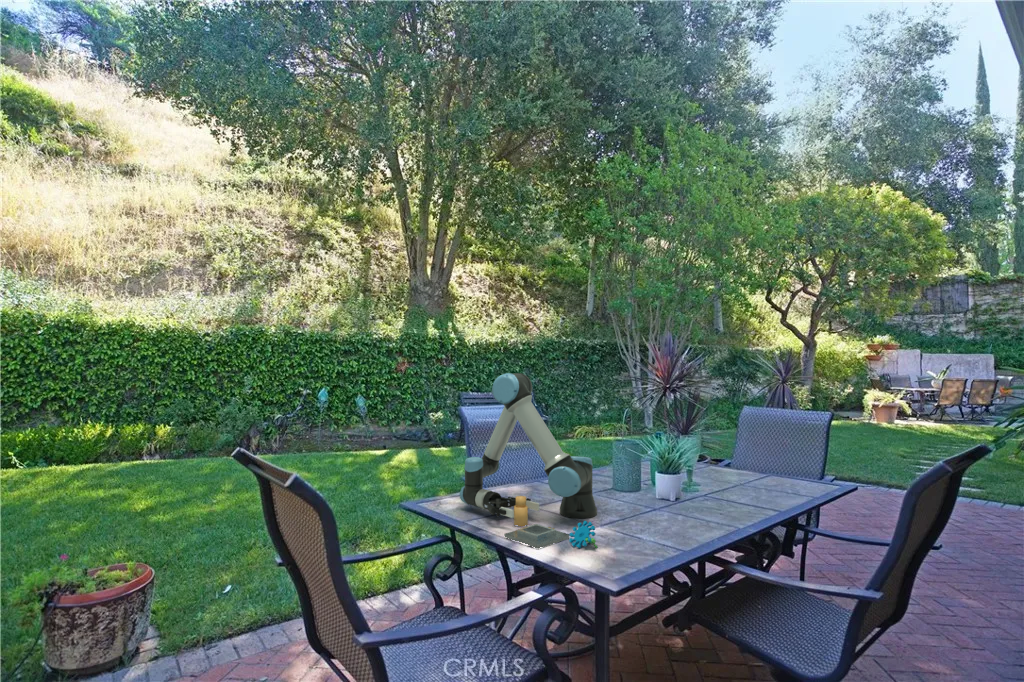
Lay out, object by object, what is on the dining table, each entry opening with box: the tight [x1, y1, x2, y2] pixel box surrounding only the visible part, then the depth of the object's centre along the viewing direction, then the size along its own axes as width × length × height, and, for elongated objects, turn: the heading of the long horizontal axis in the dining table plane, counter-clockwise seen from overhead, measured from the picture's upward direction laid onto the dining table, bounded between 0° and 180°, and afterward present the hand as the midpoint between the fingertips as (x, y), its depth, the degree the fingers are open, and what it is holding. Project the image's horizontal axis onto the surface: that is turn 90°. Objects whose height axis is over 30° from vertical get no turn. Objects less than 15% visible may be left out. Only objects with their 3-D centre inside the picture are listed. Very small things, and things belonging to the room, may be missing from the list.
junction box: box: [503, 523, 570, 549], centre depth 189 cm, size 16×16×3 cm
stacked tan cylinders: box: [513, 495, 529, 526], centre depth 205 cm, size 5×5×10 cm
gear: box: [568, 520, 598, 549], centre depth 182 cm, size 11×6×10 cm
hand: (526, 510), depth 202 cm, fingers open, 13 cm apart
